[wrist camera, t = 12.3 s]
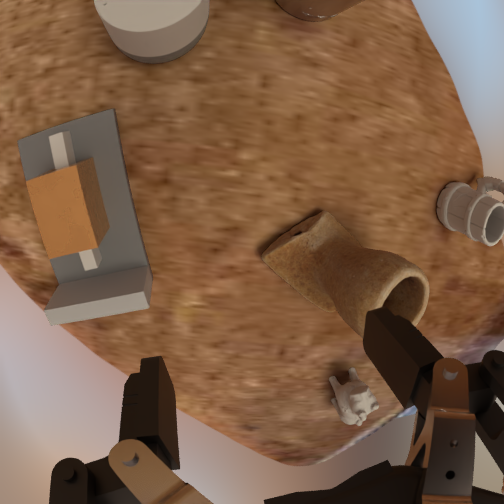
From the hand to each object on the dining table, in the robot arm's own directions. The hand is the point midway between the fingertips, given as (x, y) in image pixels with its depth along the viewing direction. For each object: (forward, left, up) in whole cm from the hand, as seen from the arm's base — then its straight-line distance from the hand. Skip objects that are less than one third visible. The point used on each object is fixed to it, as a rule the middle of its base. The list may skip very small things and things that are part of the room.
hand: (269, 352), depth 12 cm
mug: (+6, +38, -27) cm, 47 cm away
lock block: (-3, -14, -25) cm, 29 cm away
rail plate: (-1, -14, -26) cm, 30 cm away
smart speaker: (-19, -2, -27) cm, 33 cm away
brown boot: (+11, +14, -27) cm, 32 cm away
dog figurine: (+37, +17, -27) cm, 48 cm away
